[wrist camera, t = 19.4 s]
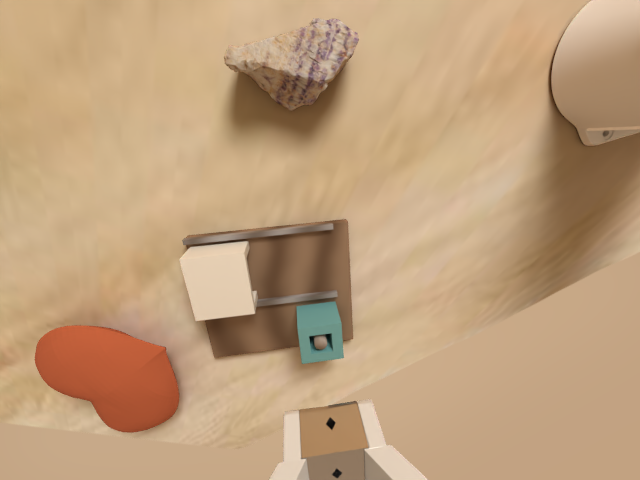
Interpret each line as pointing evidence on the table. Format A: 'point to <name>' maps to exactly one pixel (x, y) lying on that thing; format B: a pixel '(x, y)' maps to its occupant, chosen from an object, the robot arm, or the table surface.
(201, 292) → the cover
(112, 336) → the sculpture
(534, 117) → the table surface
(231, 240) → the base
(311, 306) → the teal cube
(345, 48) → the mineral specimen
